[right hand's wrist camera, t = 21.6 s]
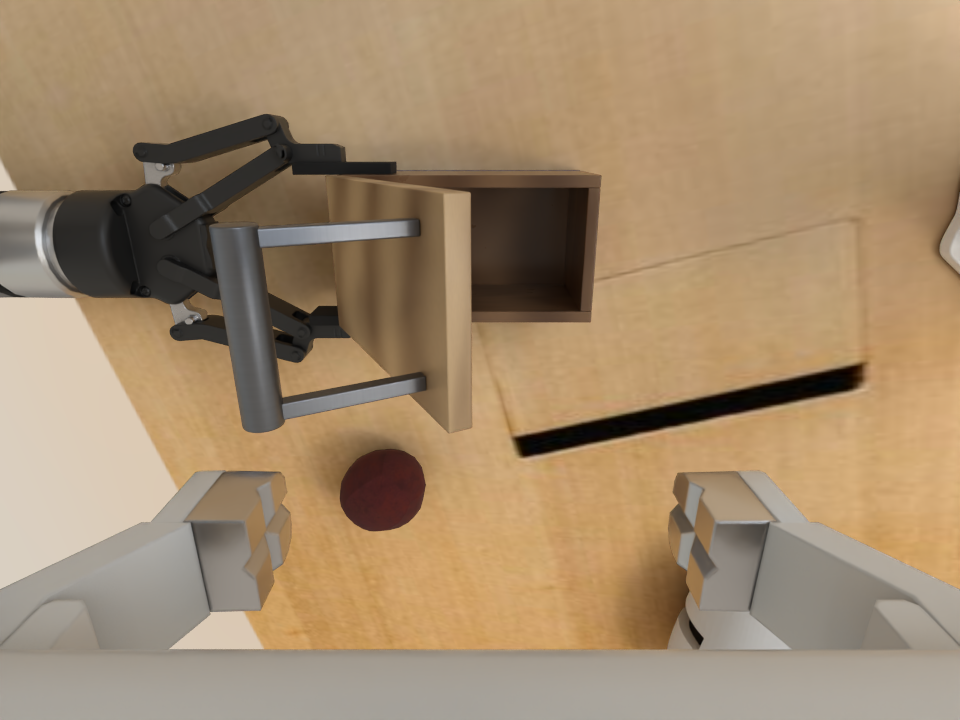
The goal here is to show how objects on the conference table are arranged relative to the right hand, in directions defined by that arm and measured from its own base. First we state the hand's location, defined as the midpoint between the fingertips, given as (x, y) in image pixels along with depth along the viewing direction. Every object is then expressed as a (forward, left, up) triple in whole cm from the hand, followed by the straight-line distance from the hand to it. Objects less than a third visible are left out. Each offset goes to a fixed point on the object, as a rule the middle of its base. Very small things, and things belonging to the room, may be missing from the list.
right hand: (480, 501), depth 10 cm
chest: (0, +1, -38) cm, 38 cm away
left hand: (+4, +4, -31) cm, 32 cm away
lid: (+3, +3, -20) cm, 21 cm away
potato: (-11, +21, -38) cm, 44 cm away
